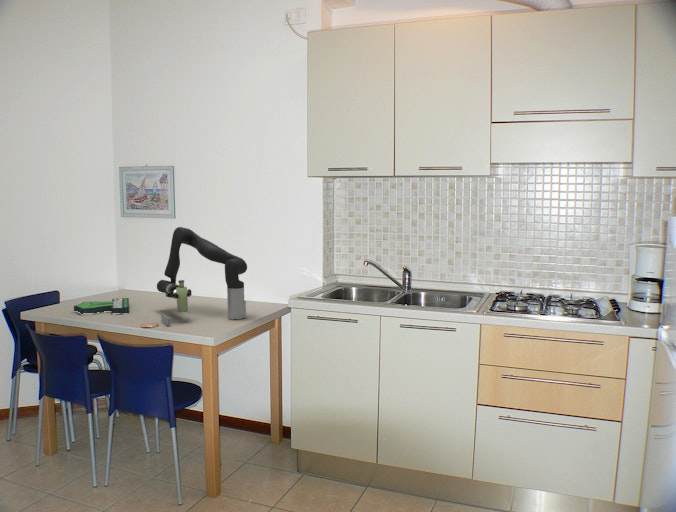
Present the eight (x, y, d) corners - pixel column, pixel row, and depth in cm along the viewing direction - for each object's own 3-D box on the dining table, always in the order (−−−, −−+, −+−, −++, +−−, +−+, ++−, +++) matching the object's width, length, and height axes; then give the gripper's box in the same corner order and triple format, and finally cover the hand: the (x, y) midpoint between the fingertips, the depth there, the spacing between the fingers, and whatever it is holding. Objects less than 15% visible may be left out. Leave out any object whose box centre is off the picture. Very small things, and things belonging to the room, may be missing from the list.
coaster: (155, 323, 302) (155, 322, 302) (160, 326, 295) (160, 325, 294) (138, 325, 297) (138, 324, 297) (142, 328, 290) (142, 327, 290)
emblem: (129, 307, 324) (71, 311, 313) (129, 314, 324) (71, 318, 314) (128, 297, 352) (75, 301, 341) (128, 304, 352) (76, 307, 342)
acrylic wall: (163, 321, 307) (162, 313, 306) (170, 326, 295) (170, 319, 294) (161, 321, 306) (161, 314, 306) (168, 326, 294) (168, 319, 294)
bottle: (186, 309, 308) (184, 279, 306) (189, 311, 303) (188, 280, 301) (176, 311, 305) (174, 280, 303) (179, 312, 300) (177, 281, 298)
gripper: (161, 285, 311) (169, 290, 297) (186, 282, 319) (196, 287, 304) (161, 299, 312) (170, 304, 298) (187, 296, 319) (196, 300, 305)
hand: (183, 295), depth 301 cm, fingers closed on bottle, 5 cm apart
